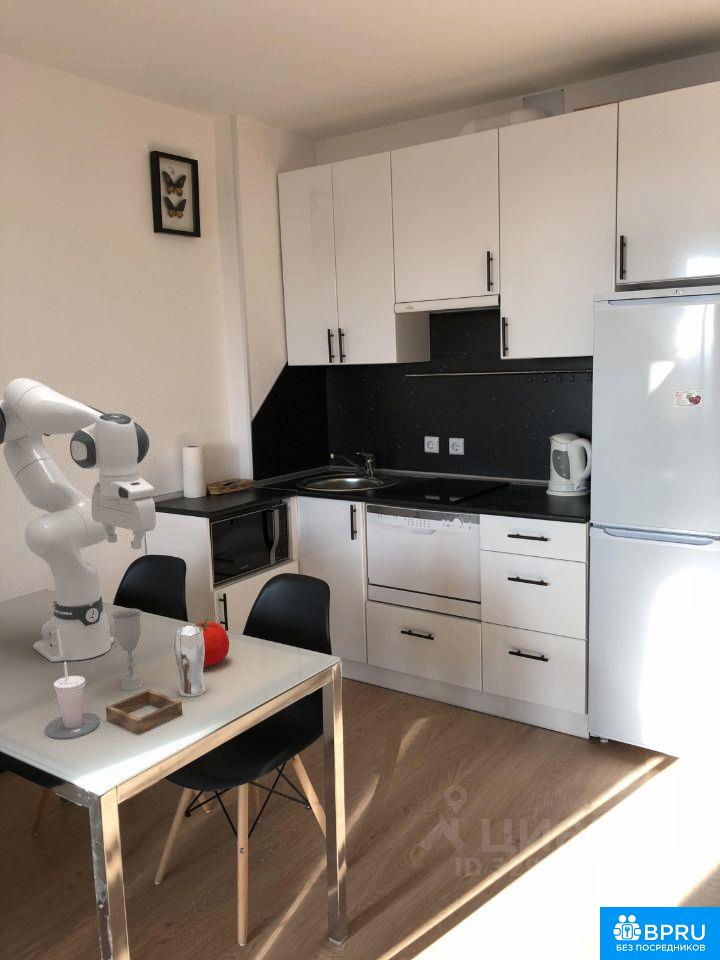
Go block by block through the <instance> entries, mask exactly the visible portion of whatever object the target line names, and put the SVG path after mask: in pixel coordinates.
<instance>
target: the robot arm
mask: <svg viewBox="0 0 720 960" xmlns="http://www.w3.org/2000/svg"><path fill="white" fill-rule="evenodd" d="M62 434H63V435H64V434H65V435H67V434H72V436H71V439H70V443H69V450H70V451H69V452H70V453H69V454H70V456H71V459H72V461H73V462H74V463H75V464H76V465H77V466H78V467H80V468H81V469H87V470H93V469H99V471H98V472H99V473H98V475H99V476H98V478H99V479H98V480H99V482H97V483H96V484H95V485H94V486H93V493H91V498H89V497H88V496H86V495H84V493H82V492H81V491H80V490H78V489H77V488H76V487H75V486H74V485H73V484H71V482H70V481H69V480H68V479H67V478H66V476H65V474H64V473H63V471H62V470H61V469H60V467H59V465H58V464H57V463H56V460H55V459H54V458H53V456H52V455H51V454H50V452H49V451H48V450H47V448H46V446H45V445H44V443H43V436H45V437H50V436H51V435H62ZM2 444H4V446H3V448H2V454H3V456H4V460H5V462H6V465H7V467H8V469H9V472H10V474H11V475H12V477H13V479H14V480H15V483H16V484H17V485H18V487H19V488H20V489H21V492H22V494H23V496H25V498H26V500H27V501H28V503H29V504H30V505H31V506H33V507H34V508H37V509H40V510H43V511H46V512H48V513H44V514H43V515H41V516H38V517H36V518H35V519H32V520H31V521H29V522H28V524H27V525H26V528H25V530H24V540H25V544H26V546H27V548H28V549H29V550H30V551H31V553H33V554H34V555H36V556H37V557H39V558H41V559H42V560H43V561H44V562H45V563H46V564H47V566H48V568H49V569H50V572H51V575H52V577H53V578H52V579H53V582H54V584H53V585H54V590H55V599H56V601H54V602H51V604H53V605H52V608H54V609H53V615H52V616H51V617H50V618H49V620H47V621H46V622H45V623H44V624H43V625H42V627H41V633H40V637H41V639H40V640H38V641H36V642H35V643H33V647H32V648H33V649H34V650H35V651H37V652H38V653H39V654H41V655H42V656H43V657H44V658H46V659H47V660H48V661H49V662H53V663H57V662H62V661H64V662H65V661H80V660H87V659H91V658H95V657H99V656H101V655H103V654H105V653H107V652H108V651H110V650H111V649H112V644H113V643H114V642H115V638H114V636H111V632H110V627H109V621H108V615H107V614H106V613H105V612H104V602H103V598H102V596H101V592H100V591H101V589H100V578H99V570H97V568H96V567H95V566H94V565H93V564H91V563H89V562H87V561H84V560H83V557H82V555H81V549H83V548H87V547H90V546H93V545H98V544H100V543H101V542H103V541H105V540H106V542H108V543H111V544H113V543H117V541H118V534H116V533H115V531H116V527H117V528H122V529H126V530H130V531H132V535H133V536H134V537H133V540H131V541H130V545H131V546H130V548H131V549H134V550H140V549H142V544H143V543H142V540H143V538H144V536H145V533H147V532H151V531H153V530H154V529H155V527H156V525H157V523H156V521H157V520H156V519H157V517H156V504H155V501H154V499H153V497H154V496H155V487H154V486H153V485H151V484H150V483H149V482H147V481H146V480H145V479H144V478H143V477H141V474H140V473H141V472H140V468H139V466H138V465H139V464H140V463H141V462H142V461H143V460H144V459H145V457H146V456H147V454H148V453H149V449H150V439H149V436H148V434H147V432H146V430H145V429H144V428H143V427H142V426H141V425H140V424H138V422H135V421H133V418H132V417H130V416H129V415H126V414H122V413H106V412H104V411H102V410H99V409H98V408H95V407H93V406H90V405H88V404H86V403H85V404H84V403H82V402H80V401H77V400H75V399H72V398H70V397H68V396H65V395H63V394H61V393H60V392H58V391H56V390H54V389H52V388H51V387H49V386H48V385H46V384H43V383H42V382H40V381H37V380H34V379H31V378H28V377H20V378H19V377H18V378H15V379H13V380H11V381H10V382H9V383H8V384H7V385H6V387H5V389H4V390H3V399H0V445H2Z"/></svg>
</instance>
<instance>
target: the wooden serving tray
mask: <svg viewBox="0 0 720 960" xmlns="http://www.w3.org/2000/svg"><path fill="white" fill-rule="evenodd" d="M148 705H151V706H152V707H155V708H157V710H155V711H152V712H150V713H147V714H146V715H143V716H141V717H137V716H135V715H132V714H130V713H132V712H135V711H137V710H139V709H141V708H143V707H146V706H148ZM105 713H106V714H105V716H106V721H108V722H109V723H112V724H115V725H116V726H119V727H121V728H123V729H126V730H128V731H130V732H132V733H134V734H137V735H141V734H143V733H145V732H148V731H151V730H152V729H155V728H156V727H158V726H162V725H163V724H166V723H167V722H169V721H171V720H174V719H175V718H177V717H180V716H183V702H182V701H181V700H179V699H175V698H173V697H171V696H168V695H165V694H163V693H160V692H158V691H155V690H152V689H146V690H144V691H141V692H139V693H137V694H134V695H131V696H130V697H127V698H125V699H122V700H120V701H118V702H114V703H112V704H111V705H108V706H106V707H105Z"/></svg>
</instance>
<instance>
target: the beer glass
mask: <svg viewBox="0 0 720 960" xmlns="http://www.w3.org/2000/svg"><path fill="white" fill-rule="evenodd" d="M173 650H174V657H175V662H176V666H177V669H178V673H179V690H178V693H179V695H180V696H182V697H186V698H187V697H188V698H191V697H198V696H200V695H203V694H204V693H205V692H206V685H205V681H204V667H205V666H204V658H205V643H204V636H203V629H202V628H201V627H199V626H195V625H187V626H181V627H178V628H176V629H175V630H174V631H173Z"/></svg>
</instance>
